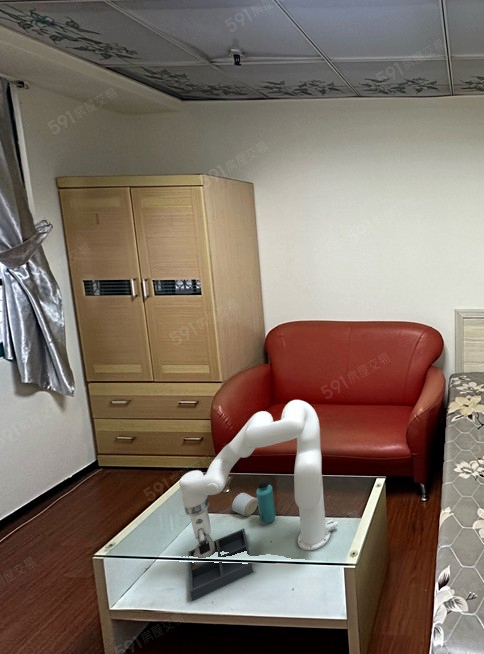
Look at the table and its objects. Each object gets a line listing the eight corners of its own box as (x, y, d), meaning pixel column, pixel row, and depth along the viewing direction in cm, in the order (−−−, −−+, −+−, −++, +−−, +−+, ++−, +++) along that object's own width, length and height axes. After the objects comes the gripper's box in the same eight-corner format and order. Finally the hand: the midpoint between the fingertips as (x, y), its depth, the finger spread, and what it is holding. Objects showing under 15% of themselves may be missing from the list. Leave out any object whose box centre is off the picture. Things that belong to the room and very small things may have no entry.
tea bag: (215, 553, 158) (212, 532, 156) (205, 569, 151) (201, 547, 149) (206, 553, 158) (202, 532, 156) (195, 569, 152) (191, 547, 149)
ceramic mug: (246, 520, 175) (244, 505, 173) (232, 515, 178) (230, 499, 176) (265, 503, 184) (264, 489, 183) (252, 498, 187) (250, 484, 186)
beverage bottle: (279, 515, 178) (274, 475, 173) (271, 527, 171) (266, 486, 167) (265, 514, 178) (260, 474, 174) (256, 526, 172) (251, 485, 167)
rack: (245, 536, 167) (244, 528, 166) (253, 572, 151) (252, 563, 150) (189, 560, 156) (188, 551, 155) (191, 601, 141) (190, 591, 140)
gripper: (210, 514, 144) (217, 554, 148) (206, 486, 158) (213, 523, 162) (185, 524, 140) (193, 565, 144) (184, 494, 154) (191, 532, 158)
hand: (204, 543), depth 153 cm, fingers open, 9 cm apart
